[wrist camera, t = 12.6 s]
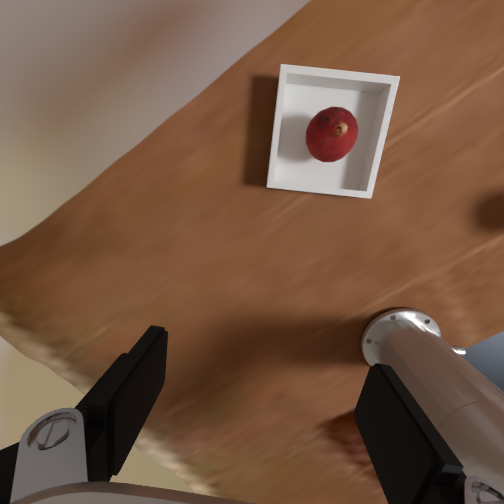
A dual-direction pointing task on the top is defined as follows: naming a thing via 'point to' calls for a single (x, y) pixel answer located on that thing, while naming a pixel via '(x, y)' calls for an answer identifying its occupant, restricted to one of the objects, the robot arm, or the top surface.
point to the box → (306, 107)
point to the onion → (331, 134)
